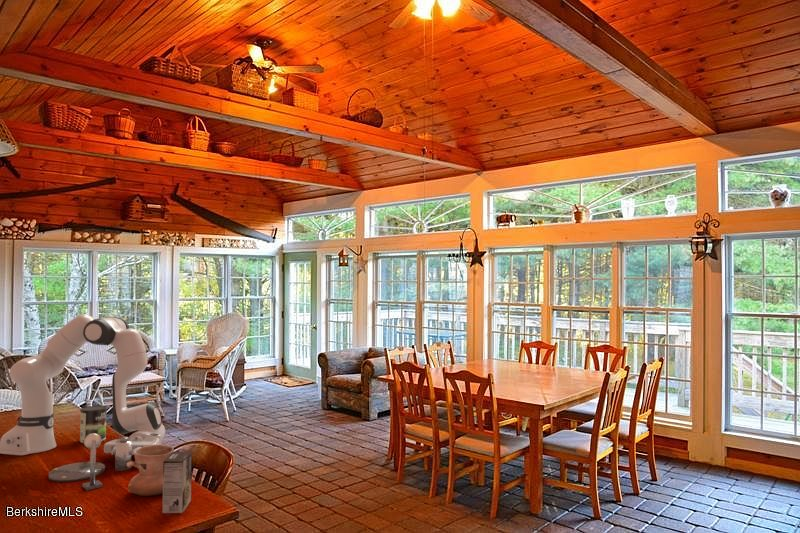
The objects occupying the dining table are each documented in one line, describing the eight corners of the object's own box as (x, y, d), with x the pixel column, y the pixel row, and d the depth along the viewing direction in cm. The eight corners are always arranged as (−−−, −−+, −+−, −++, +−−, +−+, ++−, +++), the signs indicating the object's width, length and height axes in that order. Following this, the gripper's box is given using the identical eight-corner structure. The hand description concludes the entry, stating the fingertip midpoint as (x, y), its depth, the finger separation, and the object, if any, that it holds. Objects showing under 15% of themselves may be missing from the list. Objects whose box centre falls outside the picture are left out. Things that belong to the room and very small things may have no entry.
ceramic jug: (130, 504, 178) (132, 459, 179) (119, 490, 189) (121, 448, 190) (188, 492, 189) (189, 450, 190) (174, 480, 201) (176, 440, 201)
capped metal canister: (112, 470, 209) (112, 439, 209) (119, 465, 215) (120, 435, 215) (126, 470, 209) (127, 439, 209) (134, 465, 215) (134, 435, 215)
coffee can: (111, 437, 252) (112, 406, 253) (94, 443, 242) (95, 411, 243) (91, 435, 254) (92, 404, 255) (74, 442, 244) (74, 409, 245)
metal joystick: (102, 486, 193) (103, 434, 193) (86, 490, 189) (87, 437, 190) (98, 482, 196) (99, 431, 197) (82, 486, 193) (83, 434, 193)
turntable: (36, 481, 197) (37, 477, 197) (67, 464, 215) (68, 460, 215) (87, 482, 197) (87, 478, 197) (114, 465, 215) (114, 461, 215)
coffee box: (171, 501, 181) (172, 451, 181) (191, 501, 181) (192, 451, 182) (161, 513, 172) (162, 460, 172) (182, 513, 172) (184, 460, 172)
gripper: (114, 433, 225) (95, 444, 211) (165, 434, 225) (149, 444, 211) (114, 449, 225) (94, 460, 211) (164, 450, 225) (148, 461, 211)
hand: (122, 452), depth 211 cm, fingers closed on capped metal canister, 5 cm apart
